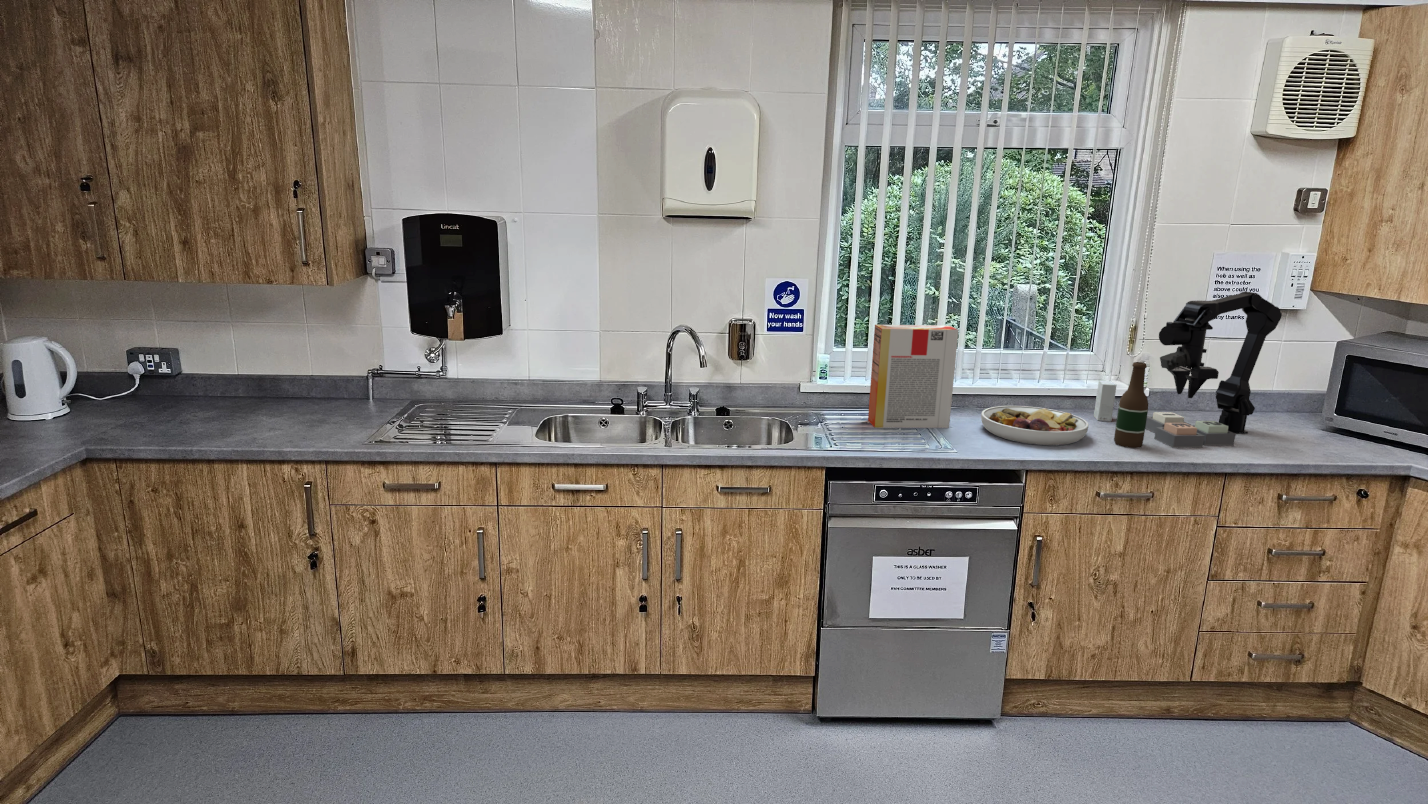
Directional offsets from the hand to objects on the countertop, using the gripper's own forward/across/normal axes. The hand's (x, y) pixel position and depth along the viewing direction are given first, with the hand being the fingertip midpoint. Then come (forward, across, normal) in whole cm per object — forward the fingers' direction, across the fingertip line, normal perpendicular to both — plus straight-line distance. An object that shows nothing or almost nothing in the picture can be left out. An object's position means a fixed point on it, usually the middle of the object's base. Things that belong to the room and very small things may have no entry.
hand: (1184, 396), depth 255 cm
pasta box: (+12, -12, -80) cm, 82 cm away
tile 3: (+9, +9, -6) cm, 14 cm away
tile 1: (+9, -3, -2) cm, 10 cm away
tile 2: (+9, +7, +5) cm, 12 cm away
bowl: (+12, -2, -45) cm, 47 cm away
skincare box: (+12, -18, -14) cm, 26 cm away
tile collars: (+12, +3, 0) cm, 12 cm away
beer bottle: (+12, +10, -22) cm, 27 cm away
